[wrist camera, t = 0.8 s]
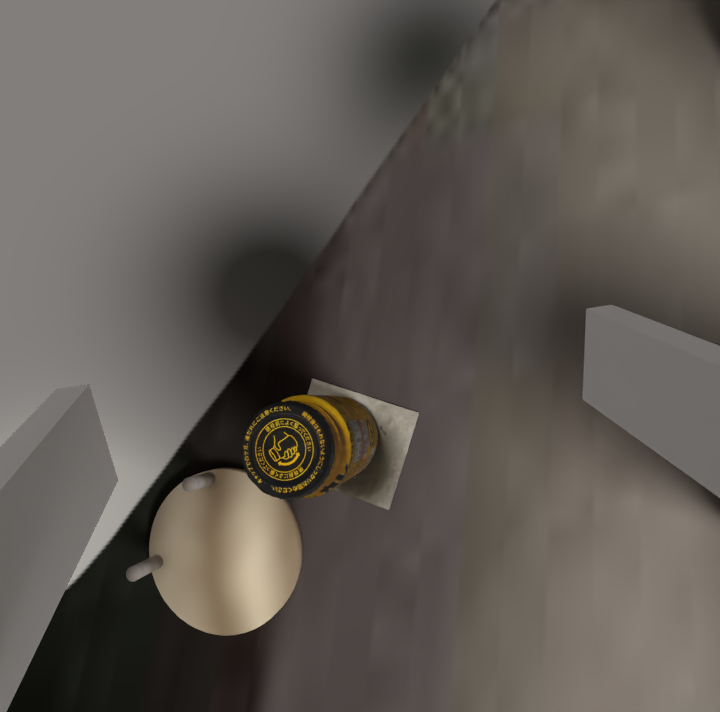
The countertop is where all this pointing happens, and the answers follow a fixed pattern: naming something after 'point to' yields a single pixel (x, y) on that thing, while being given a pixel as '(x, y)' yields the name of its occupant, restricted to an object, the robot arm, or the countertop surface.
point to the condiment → (328, 445)
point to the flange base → (223, 552)
